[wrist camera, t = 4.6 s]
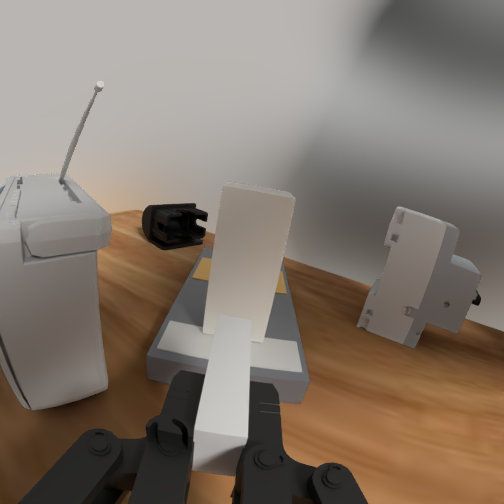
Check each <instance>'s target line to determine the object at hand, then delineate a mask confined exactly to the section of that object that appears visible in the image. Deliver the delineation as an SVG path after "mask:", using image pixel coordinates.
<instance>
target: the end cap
mask: <svg viewBox="0 0 504 504" xmlns="http://www.w3.org/2000/svg"><path fill="white" fill-rule="evenodd" d="M207 217H208V213H207V212H204V211H202V210H199V209H196V204H195V203H185V204H163V205H149V206H148V207H147V208H146V209H145V210H144V212H143V216H142V227H143V231H144V234H145V236H146V237H147V238H148V239H149V241H150V242H151V243H152V244H153V245H155V246H157V247H158V248H160V249H162V250H170V249H176V248H182V247H188V246H194V245H200V244H203V240H201V239H200V238H203V237H204V236H205V232H206V228H204V227H201V226H199V225H197V224H196V220H197V219H200V220H202V221H205V222H207Z"/></svg>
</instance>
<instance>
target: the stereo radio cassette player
mask: <svg viewBox="0 0 504 504" xmlns="http://www.w3.org/2000/svg"><path fill="white" fill-rule="evenodd" d="M104 85H105V84H104V82H103V81H99V82H97V84H96V86H95V88H94V89H95V94H94V96H93V98H92V99H91V100H90V102H89V105H88V107H87V109H86V111H85V112H84V115H83V117H82V119H81V122H80V123H79V125H78V128H77V130H76V132H75V136H74V138H73V139H72V142H71V145H70V147H69V150H68V153H67V156H66V159H65V162H64V165H63V168H62V171H61V174H36V175H19V176H10V177H9V178H7V179H6V180H5V182H4V184H3V185H2V186H1V189H0V365H1V367H2V369H3V371H4V374H5V376H6V378H7V380H8V382H9V384H10V386H11V388H12V390H13V392H14V393H15V395H16V397H17V398H18V400H19V401H20V403H21V404H22V406H23V407H24V408H25V409H30V410H31V409H32V410H33V411H35V410H41V409H46V408H50V407H55V406H60V405H63V404H67V403H70V402H74V401H78V400H81V399H83V398H86V397H89V396H91V395H94V394H97V393H99V392H102V391H104V390H106V389H107V388H108V381H109V380H108V374H107V368H106V361H105V355H104V347H103V339H102V331H101V322H100V310H99V295H98V273H97V250H100V249H102V248H104V247H106V246H108V245H109V243H110V237H111V232H112V227H111V218H110V214H109V213H107V212H106V211H105V210H104V209H103V208H102V207H101V206H100V205H99V204H98V203H97V202H96V201H95V200H94V199H93V198H92V197H91V196H89V195H88V194H87V193H86V192H85V191H84V190H83V189H82V188H81V187H80V186H79V185H78V184H77V183H76V182H75V181H74V180H73V179H72V178H71V177H70V176H69V175H67V174H65V173H66V171H67V168H68V165H69V162H70V160H71V157H72V154H73V152H74V149H75V147H76V144H77V142H78V138H79V136H80V134H81V131H82V129H83V127H84V123H85V121H86V118H87V116H88V114H89V111H90V109H91V106H92V104H93V102H94V99H95V97H96V95H97V93H98V92H100V91H102V89H103V87H104Z"/></svg>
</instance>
